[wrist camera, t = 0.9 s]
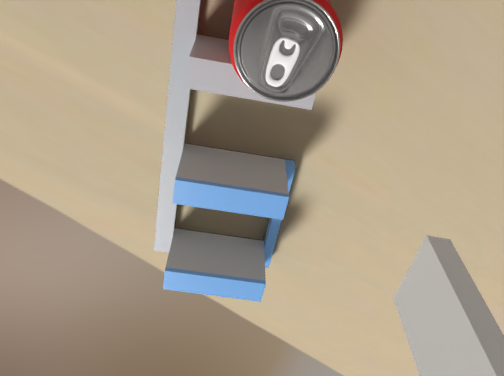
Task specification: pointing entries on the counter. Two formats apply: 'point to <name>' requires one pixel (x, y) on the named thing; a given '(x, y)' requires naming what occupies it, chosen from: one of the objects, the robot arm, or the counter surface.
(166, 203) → the grey blue slotted rack
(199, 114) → the counter surface
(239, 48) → the beverage can
